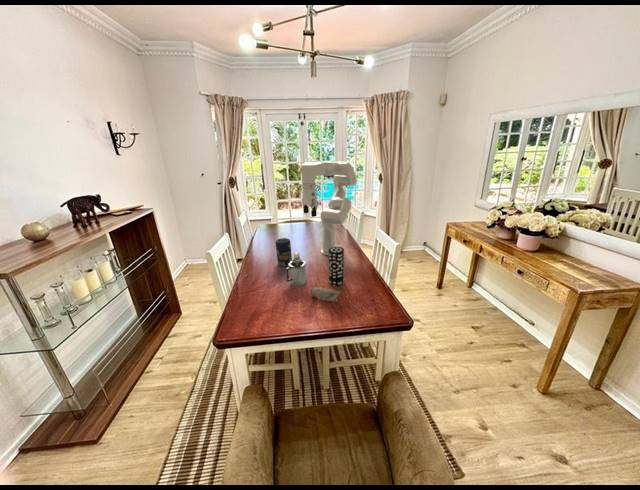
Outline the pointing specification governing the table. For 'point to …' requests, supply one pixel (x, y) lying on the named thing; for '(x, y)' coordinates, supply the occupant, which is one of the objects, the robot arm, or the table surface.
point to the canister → (283, 251)
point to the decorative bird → (325, 294)
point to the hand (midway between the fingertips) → (310, 214)
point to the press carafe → (296, 273)
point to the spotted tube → (336, 266)
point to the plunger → (296, 258)
